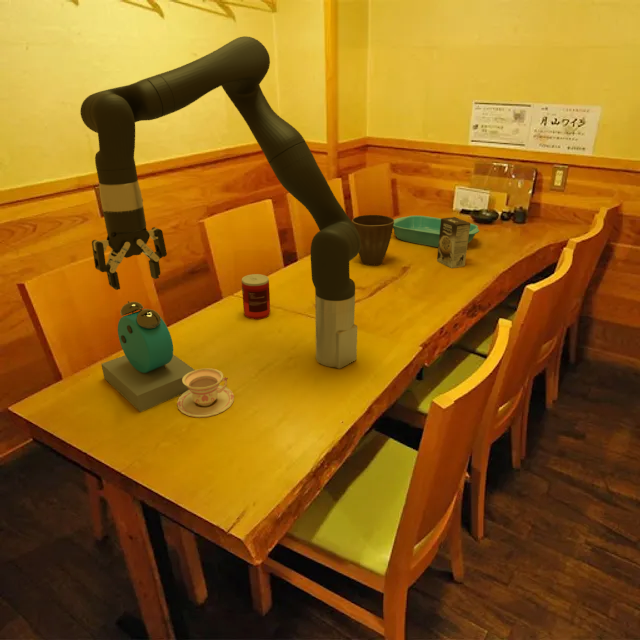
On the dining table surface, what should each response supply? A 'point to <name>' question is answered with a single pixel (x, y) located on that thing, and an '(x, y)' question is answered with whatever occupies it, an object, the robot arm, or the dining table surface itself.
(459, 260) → the coffee box
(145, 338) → the alarm clock
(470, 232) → the casserole dish
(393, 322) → the dining table surface
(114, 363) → the plinth
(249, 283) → the canned food
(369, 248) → the plant pot
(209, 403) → the teacup
